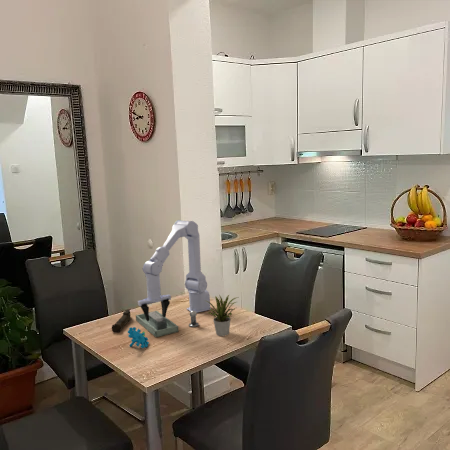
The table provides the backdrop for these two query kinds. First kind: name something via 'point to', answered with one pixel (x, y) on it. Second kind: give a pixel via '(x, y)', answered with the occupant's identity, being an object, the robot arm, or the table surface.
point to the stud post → (193, 319)
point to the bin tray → (169, 330)
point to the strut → (157, 321)
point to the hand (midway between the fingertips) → (155, 318)
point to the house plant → (222, 316)
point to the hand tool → (121, 322)
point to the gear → (138, 337)
